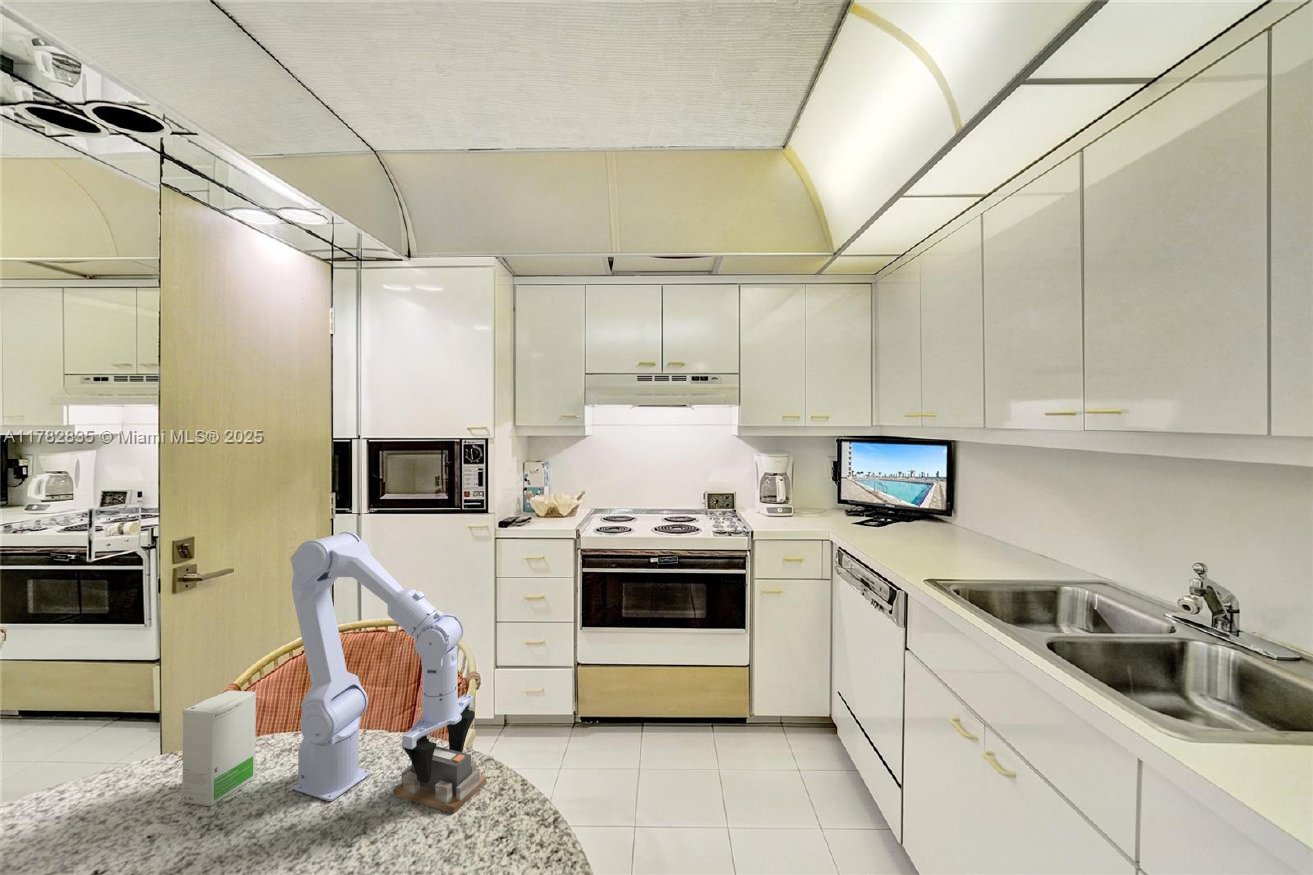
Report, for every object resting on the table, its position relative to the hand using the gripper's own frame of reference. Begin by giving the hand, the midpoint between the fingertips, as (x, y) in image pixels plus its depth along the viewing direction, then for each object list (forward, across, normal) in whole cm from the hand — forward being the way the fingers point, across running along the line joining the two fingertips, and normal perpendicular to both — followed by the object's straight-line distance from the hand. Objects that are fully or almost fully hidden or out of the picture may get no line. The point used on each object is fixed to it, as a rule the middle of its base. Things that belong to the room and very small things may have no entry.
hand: (440, 767), depth 89 cm
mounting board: (+4, 0, 0) cm, 4 cm away
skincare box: (+4, -13, +37) cm, 39 cm away
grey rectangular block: (+3, 0, 0) cm, 3 cm away
